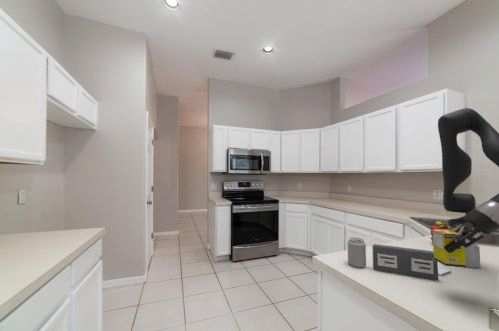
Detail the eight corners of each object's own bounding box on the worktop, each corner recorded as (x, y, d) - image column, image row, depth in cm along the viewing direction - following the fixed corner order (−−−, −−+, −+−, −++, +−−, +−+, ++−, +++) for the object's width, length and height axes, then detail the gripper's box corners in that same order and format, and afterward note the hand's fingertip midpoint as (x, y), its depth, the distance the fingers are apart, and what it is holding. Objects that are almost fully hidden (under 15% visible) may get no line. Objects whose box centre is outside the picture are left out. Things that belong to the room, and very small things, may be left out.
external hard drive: (441, 278, 84) (407, 265, 96) (451, 274, 88) (417, 262, 99) (441, 274, 84) (407, 262, 96) (451, 270, 88) (417, 259, 99)
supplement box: (466, 267, 68) (464, 234, 68) (445, 266, 69) (443, 233, 69) (452, 260, 73) (451, 229, 74) (433, 259, 75) (431, 229, 75)
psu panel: (435, 277, 83) (434, 251, 84) (439, 281, 80) (437, 254, 81) (372, 267, 93) (372, 243, 93) (374, 270, 89) (373, 245, 90)
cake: (427, 244, 124) (426, 219, 124) (436, 242, 128) (435, 218, 129) (450, 250, 114) (448, 223, 115) (458, 247, 118) (457, 221, 119)
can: (365, 270, 90) (365, 242, 90) (347, 266, 94) (346, 239, 94) (366, 264, 96) (365, 238, 97) (348, 260, 100) (348, 235, 101)
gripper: (467, 205, 75) (427, 233, 80) (487, 211, 62) (438, 243, 67) (489, 222, 72) (446, 249, 77) (514, 231, 59) (461, 263, 64)
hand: (442, 246), depth 72 cm, fingers closed on supplement box, 7 cm apart
